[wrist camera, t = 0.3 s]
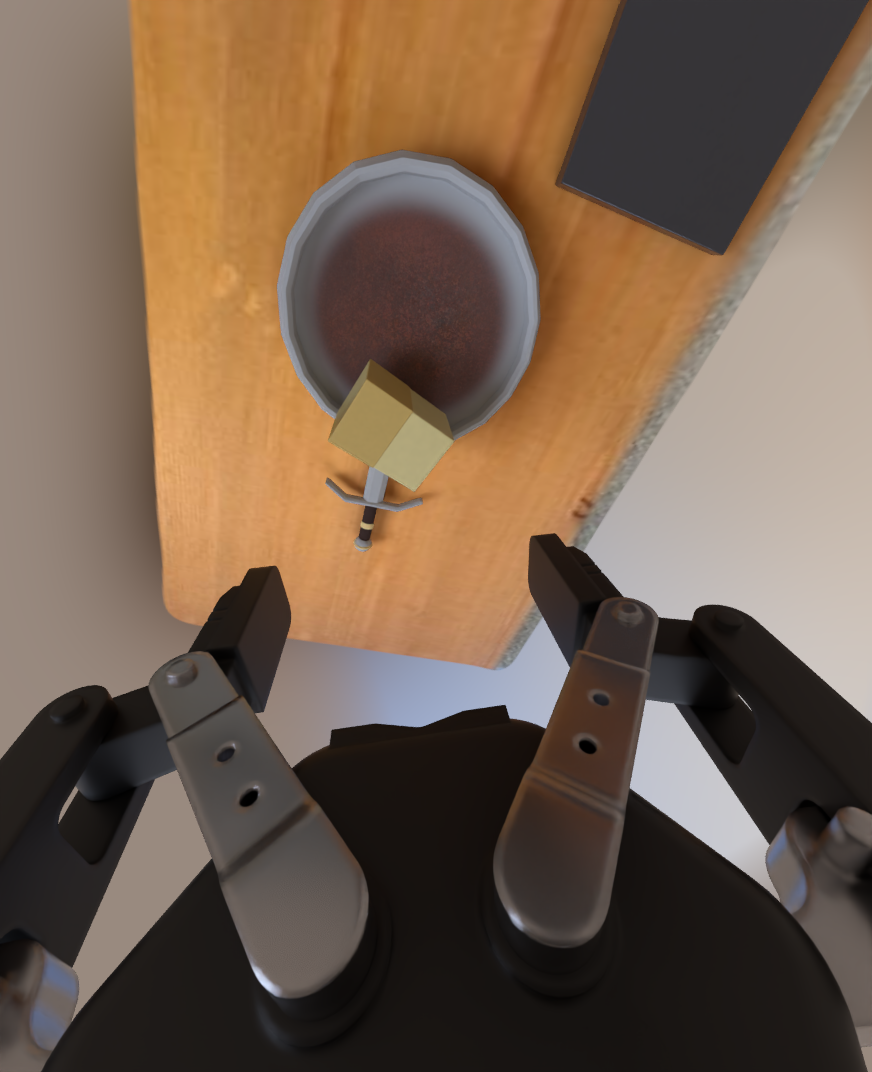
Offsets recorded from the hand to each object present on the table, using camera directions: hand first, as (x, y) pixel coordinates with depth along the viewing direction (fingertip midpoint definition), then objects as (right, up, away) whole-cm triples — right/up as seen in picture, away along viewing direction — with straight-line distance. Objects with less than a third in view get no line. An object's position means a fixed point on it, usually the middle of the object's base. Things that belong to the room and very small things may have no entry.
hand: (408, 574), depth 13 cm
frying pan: (-2, +12, +18) cm, 22 cm away
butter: (-2, +10, +16) cm, 19 cm away
